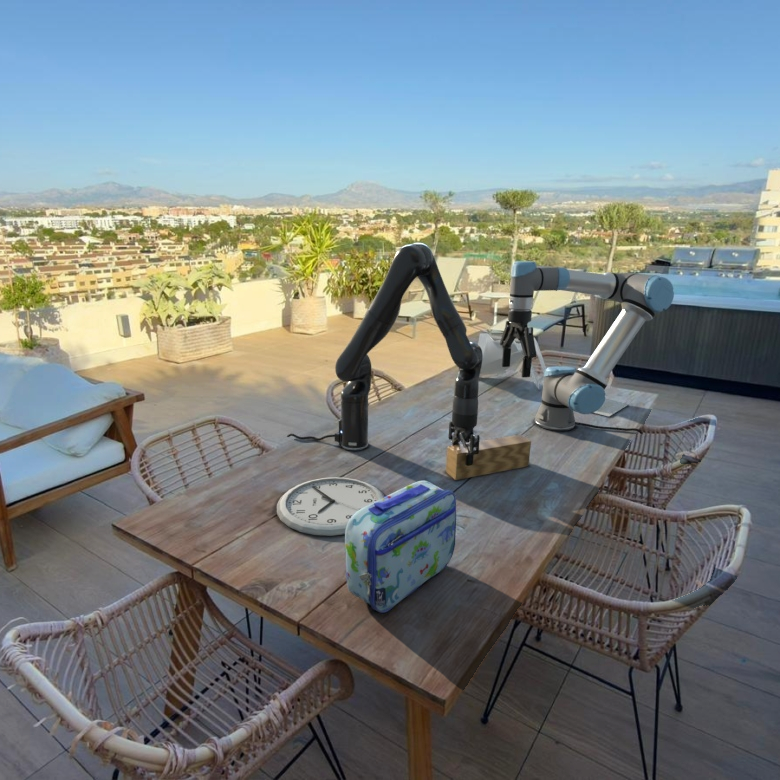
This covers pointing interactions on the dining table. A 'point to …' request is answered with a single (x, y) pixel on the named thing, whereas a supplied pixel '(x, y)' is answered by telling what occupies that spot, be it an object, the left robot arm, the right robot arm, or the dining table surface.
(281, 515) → the wall clock
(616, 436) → the dining table surface
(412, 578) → the lunch box
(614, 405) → the invitation card
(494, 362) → the white plastic object
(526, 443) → the box
